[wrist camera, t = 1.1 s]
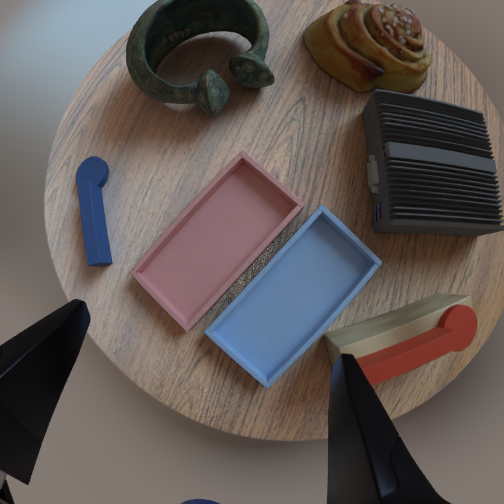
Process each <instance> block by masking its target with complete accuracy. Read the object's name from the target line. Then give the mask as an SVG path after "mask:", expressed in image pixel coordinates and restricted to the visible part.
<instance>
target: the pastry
mask: <svg viewBox="0 0 504 504" xmlns="http://www.w3.org/2000/svg"><path fill="white" fill-rule="evenodd" d="M304 41H305V44H306V47H307V48H308V49H309V51H310V52H311V55H312V57H313V58H314V60H315V61H316V63H317V64H318V65H319V66H320V67H321V68H322V69H323V70H324V71H325V72H326V73H328V74H329V75H331V76H332V77H334V78H335V79H337V80H339V81H340V82H342V83H344V84H346V85H348V86H349V87H351V88H352V89H354V90H355V91H357V92H365V91H369V90H371V89H374V88H377V89H381V90H387V91H393V92H399V93H404V94H406V93H411V92H414V91H415V90H417V89H419V88H420V87H421V86H422V84H423V83H424V81H425V80H426V77H427V73H428V67H429V66H430V64H431V56H430V53H429V51H428V49H427V48H426V47H425V45H424V37H423V35H422V29H421V26H420V22H419V20H418V19H417V17H416V16H415V13H414V11H413V10H412V9H410V8H403V7H401V6H399V5H396V4H392V5H388V4H376V5H374V4H368V3H364V4H362V3H361V2H360V1H358V0H349V1H347V2H346V3H345V4H344V5H341V6H338V7H337V8H335V9H333V10H331V11H330V12H328V13H326V14H325V15H323V16H321V17H320V18H318V19H316V20H315V21H313V22H312V23H311V24H310V25H309V27H308V28H307V30H306V32H305V34H304Z"/></svg>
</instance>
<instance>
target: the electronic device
mask: <svg viewBox="0 0 504 504" xmlns="http://www.w3.org/2000/svg"><path fill="white" fill-rule="evenodd" d="M362 114H363V120H364V127H365V134H366V142H367V150H368V159H369V162H368V163H367V172H368V183H369V187H371V191H372V205H373V222H374V232H375V233H407V234H441V235H469V236H481V235H485V234H490V233H494V232H499V231H503V230H504V226H500V223H502V222H504V220H502V217H503V216H502V215H501V214H500V213H501V212H503V211H502V210H499V208H500V207H502V205H498V203H500V202H501V200H498V198H499V197H501V195H497V193H499V192H500V190H496V189H497V188H499V185H495V184H497V183H498V182H499V181H496V180H495V179H496V178H497V177H498V176H496V175H495V174H496V173H497V171H496V165H495V161H494V160H492V159H493V158H494V156H490V155H492V154H493V152H492V151H490V150H491V149H492V147H489V146H490V145H491V143H489V142H488V141H490V139H489V138H487V137H489V134H486V133H487V132H488V131H487V130H486V128H487V126H485V125H484V124H485V122H484V121H483V120H484V118H483V114H482V112H479V111H475V110H472V109H468V108H465V107H461V106H458V105H454V104H450V103H446V102H442V101H438V100H433V99H429V98H424V97H420V96H415V95H410V94H404V93H399V92H393V91H387V90H381V89H374V91H373V93H372V95H371V97H370V99H369V101H368V102H367V104H366V106H365V108H364V110H363V111H362Z"/></svg>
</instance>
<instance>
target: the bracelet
mask: <svg viewBox="0 0 504 504" xmlns="http://www.w3.org/2000/svg"><path fill="white" fill-rule="evenodd" d="M218 31H227V32H235V33H238V34H240V35H242V36H243V37H245V38H246V39H248V41H249V42H250V43H251V45H252V47H251V48H250V49H249V50H247V51H246V52H245V53H243V54H240V55H236V56H233V57H230V58H229V60H228V61H229V69H230V71H231V73H232V76H233V77H234V79H235V80H236V81H237V82H238V83H239V84H241V85H243V86H244V87H250V88H261V87H265V86H269V85H272V84H273V83H274V81H275V80H274V75H273V74H272V72H271V71H270V69H269V68H268V66H267V65H266V64H265V63H264V59H265V54H266V51H267V48H268V41H269V29H268V25H267V22H266V19H265V16H264V14H263V12H262V10H261V9H260V7H259V6H258V5H257V4H256V3H255V2H254V1H253V0H158V1H156V2H155V3H154V4H152V5H151V6H150V7H149V8H148V9H147V10H146V11H145V12H144V13H143V14H142V15H141V16H140V18H139V19H138V21H137V22H136V24H135V25H134V26H133V29H132V31H131V33H130V36H129V39H128V42H127V45H126V62H127V67H128V70H129V74H130V75H131V77H132V79H133V81H134V83H135V84H136V85H137V86H138V87H139V88H140V89H141V90H142V91H143V92H144V93H145V94H147V95H148V96H150V97H151V98H154V99H156V100H159V101H161V102H164V103H166V102H167V103H175V104H186V103H188V104H190V103H196V102H197V104H198V105H199V106H200V108H201V109H202V110H203V111H204V112H205V113H206V115H207V116H208V117H209V118H214V117H215V116H216V115H217V114H218V113H219V112H220V111H221V110H222V109H223V107H224V106H225V105H226V103H227V101H228V98H229V96H230V89H229V87H228V86H227V84H226V83H225V81H224V80H223V79H222V78H221V77H220V76H219V75H218V74H217V73H216V72H215V71H213V70H212V69H208V70H207V71H205V72H203V73H202V74H201V75H200V76H199V77H198V78H197V79H196V80H195V81H194V82H191V83H189V84H181V85H177V84H170V83H168V82H166V81H165V80H163V79H162V78H160V77H159V76H157V75H156V71H157V68H158V66H159V64H160V63H161V62H162V60H163V59H164V58H165V57H166V56H167V55H168V54H169V53H170V52H171V51H172V50H173V49H174V48H176V47H177V46H178V45H180V44H181V43H183V42H184V41H186V40H188V39H190V38H192V37H195V36H197V35H200V34H205V33H209V32H218Z"/></svg>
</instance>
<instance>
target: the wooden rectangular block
mask: <svg viewBox="0 0 504 504" xmlns="http://www.w3.org/2000/svg"><path fill="white" fill-rule="evenodd" d="M456 304H460V305H467V306H469V307H470V308H472V310H473V307H472V301H471V296H469V295H455V294H442V293H436V294H434V295H431V296H429V297H426V298H424V299H422V300H419V301H416V302H414V303H411V304H409V305H406V306H404V307H401V308H398V309H396V310H393V311H390V312H388V313H385V314H382V315H379V316H376V317H374V318H371V319H368V320H365V321H362V322H359V323H356V324H353V325H350V326H347V327H344V328H341V329H338V330H335V331H332V332H328V333H325V334H324V336H325V340H326V345H327V349H328V353H329V357H330V361H331V365H332V369H333V366H334V365H335V363H336V361H337V359H338V357H339V355H340V354H341V353H348V354H352V355H354V357H355V358H356V359H357V358H360V357H363V356H366V355H368V354H371V353H374V352H377V351H379V350H382V349H385V348H387V347H390V346H392V345H395V344H397V343H400V342H402V341H405V340H407V339H410V338H412V337H415V336H417V335H419V334H422V333H424V332H426V331H428V330H431V329H433V328H435V327H437V326H438V324H439V321H440V318H441V316H442V314H443V313H444V312H445V310H447V309H448V308H449V307H450V306H452V305H456ZM474 339H476V334H475V337H474ZM474 339H473V340H474ZM450 352H451V351H450ZM448 353H449V352H448ZM446 354H447V353H446ZM444 355H445V354H444ZM442 356H443V355H442ZM440 357H441V356H440ZM438 358H439V357H438ZM436 359H437V358H436ZM434 360H435V359H434ZM432 361H433V360H432ZM430 362H431V361H430ZM427 363H429V362H427ZM425 364H426V363H425ZM423 365H424V364H423ZM421 366H422V365H421ZM419 367H420V366H419ZM416 368H418V367H416ZM414 369H415V368H414ZM412 370H413V369H412ZM410 371H411V370H410ZM407 372H409V371H407ZM405 373H406V372H405ZM403 374H404V373H403ZM400 375H401V374H400ZM398 376H399V375H398ZM395 377H397V376H395ZM393 378H394V377H393ZM390 379H392V378H390ZM388 380H389V379H388ZM385 381H387V380H385ZM383 382H384V381H383ZM380 383H382V382H380ZM378 384H379V383H378ZM375 385H376V384H375ZM372 386H374V385H372Z"/></svg>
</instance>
